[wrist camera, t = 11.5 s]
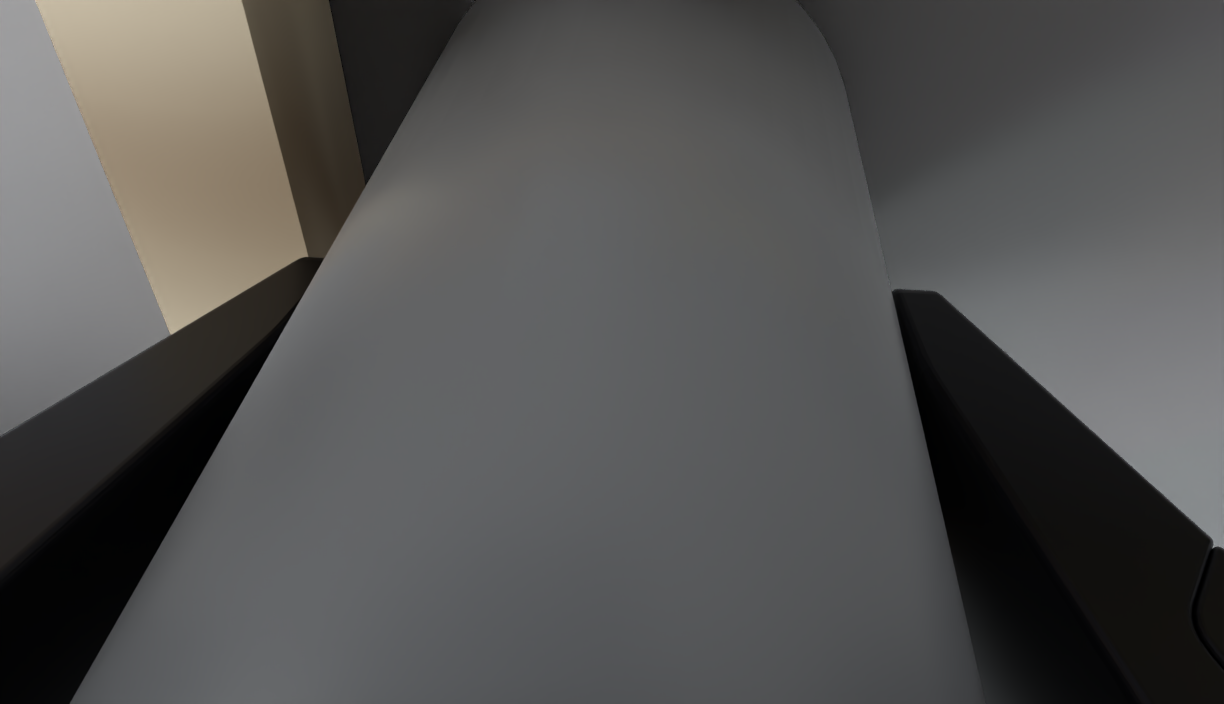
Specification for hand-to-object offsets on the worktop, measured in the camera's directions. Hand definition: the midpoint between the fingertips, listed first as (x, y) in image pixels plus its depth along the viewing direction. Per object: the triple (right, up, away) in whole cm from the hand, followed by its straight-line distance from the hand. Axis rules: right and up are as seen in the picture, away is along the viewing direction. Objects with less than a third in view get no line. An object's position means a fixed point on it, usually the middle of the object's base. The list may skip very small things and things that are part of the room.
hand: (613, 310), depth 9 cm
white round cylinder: (0, +2, +2) cm, 3 cm away
